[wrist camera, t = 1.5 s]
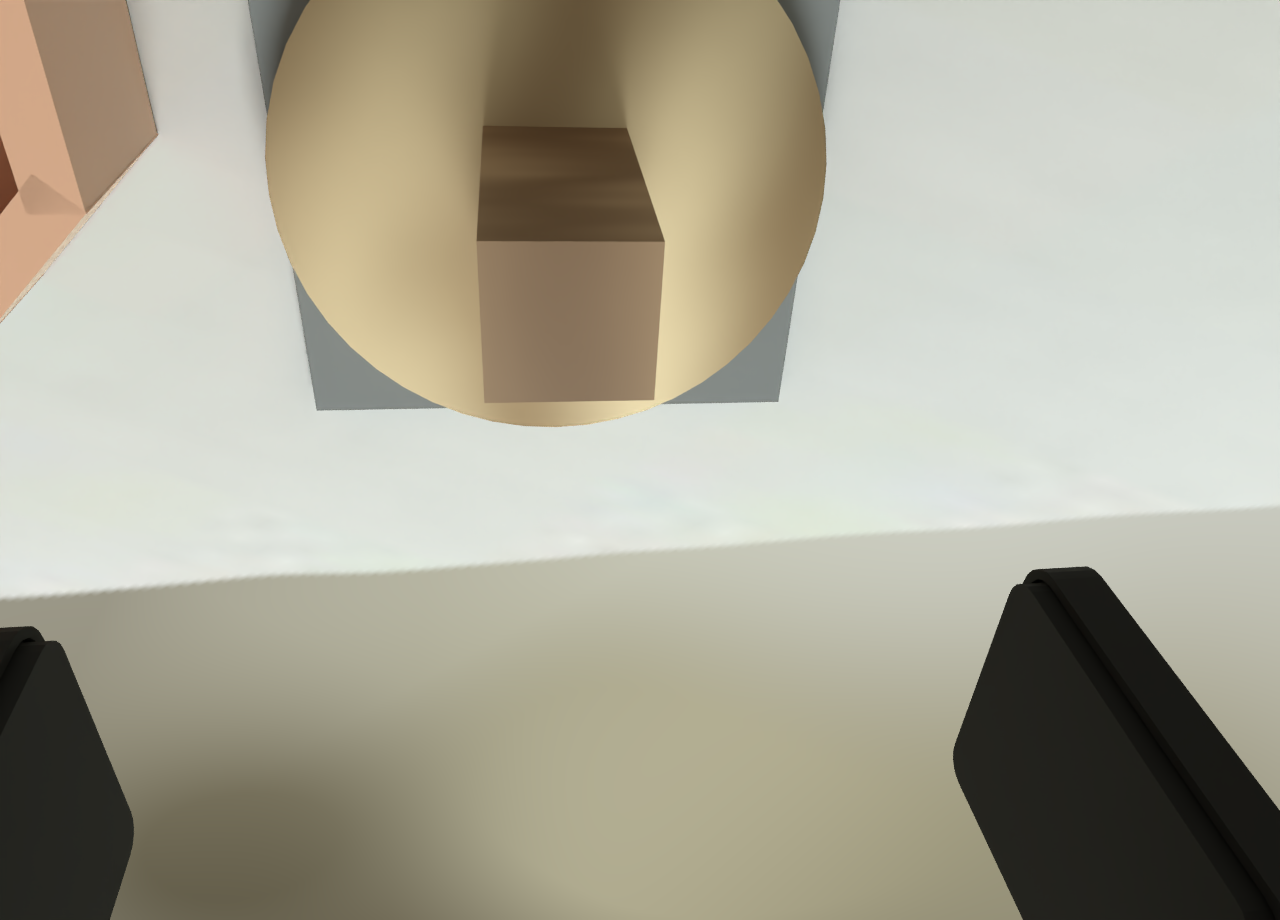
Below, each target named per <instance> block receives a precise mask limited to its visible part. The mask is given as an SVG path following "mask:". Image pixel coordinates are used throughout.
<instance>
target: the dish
mask: <svg viewBox="0 0 1280 920" xmlns="http://www.w3.org/2000/svg"><path fill="white" fill-rule="evenodd" d="M157 136H158V134H157V131H156V127H155V123H154V118H153V114H152V110H151V106H150V101H149V97H148V93H147V89H146V84H145V80H144V76H143V71H142V67H141V63H140V59H139V54H138V50H137V46H136V42H135V37H134V33H133V29H132V25H131V20H130V16H129V12H128V7H127V3H126V0H0V323H1V322H2V321H3V320H4V319H5V317H6V316H7V315H8V314H9V313H10V312H11V311H12V309H13V308H14V307H15V306H16V305H17V304H18V303H19V302H20V300H21V299H22V298H23V297H24V296H25V295H26V294H27V293H28V291H29V290H30V289H31V288H32V287H33V286H34V285H35V284H36V282H37V281H38V280H39V279H40V278H41V277H42V276H43V275H44V273H45V271H46V270H47V269H48V268H49V267H50V265H51V264H52V263H53V262H54V261H55V259H56V258H57V257H58V256H59V254H60V253H61V252H62V251H63V250H64V248H65V247H66V246H67V245H68V244H69V242H70V241H71V240H72V239H73V237H74V236H75V235H76V234H77V233H78V231H79V230H80V229H81V228H82V227H83V225H84V224H85V223H86V222H87V220H88V219H89V218H90V217H91V216H92V214H93V213H94V212H95V211H96V210H97V208H98V207H99V206H100V205H101V203H102V202H103V201H104V200H105V199H106V197H107V196H108V195H109V194H110V192H111V191H112V190H113V189H114V188H115V186H116V185H117V184H118V183H119V182H120V180H121V179H122V178H123V177H124V175H125V174H126V173H127V172H128V171H129V169H130V168H131V167H132V166H133V165H134V163H135V162H136V161H137V160H138V158H139V157H140V156H141V155H142V154H143V152H144V151H145V150H146V149H147V148H148V146H149V145H150V144H151V143H152V142H153V141H154V139H155V138H156V137H157Z"/></svg>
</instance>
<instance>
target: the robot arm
mask: <svg viewBox="0 0 1280 920" xmlns="http://www.w3.org/2000/svg"><path fill="white" fill-rule="evenodd" d="M953 762H954V769H955V773H956V777H957V779H958V782H959V784H960V786H961V789H962V791H963V793H964V795H965V797H966V799H967V801H968V803H969V805H970V808H971V810H972V812H973V814H974V816H975V818H976V820H977V823H978V825H979V827H980V829H981V831H982V833H983V835H984V837H985V840H986V842H987V844H988V846H989V848H990V850H991V852H992V854H993V857H994V859H995V861H996V863H997V865H998V867H999V869H1000V872H1001V874H1002V876H1003V878H1004V880H1005V882H1006V884H1007V887H1008V889H1009V891H1010V893H1011V895H1012V897H1013V899H1014V901H1015V904H1016V906H1017V907H1018V910H1019V912H1020V914H1021V916H1022V918H1023V920H1280V810H1279V809H1278V808H1277V806H1276V805H1275V804H1274V803H1273V801H1272V800H1271V799H1270V797H1269V796H1268V795H1267V793H1266V792H1265V791H1264V789H1263V788H1262V787H1261V785H1260V784H1259V783H1258V782H1257V780H1256V779H1255V778H1254V776H1253V775H1252V774H1251V772H1250V771H1249V770H1248V769H1247V767H1246V766H1245V765H1244V763H1243V762H1242V760H1241V759H1240V758H1239V757H1238V755H1237V754H1236V753H1235V751H1234V750H1233V749H1232V748H1231V746H1230V745H1229V743H1228V742H1227V741H1226V739H1225V738H1224V737H1223V736H1222V734H1221V733H1220V732H1219V730H1218V729H1217V728H1216V726H1215V725H1214V724H1213V722H1212V721H1211V720H1210V719H1209V717H1208V716H1207V715H1206V713H1205V712H1204V711H1203V709H1202V708H1201V707H1200V705H1199V704H1198V703H1197V701H1196V700H1195V699H1194V697H1193V696H1192V695H1191V694H1190V692H1189V691H1188V690H1187V688H1186V687H1185V686H1184V684H1183V683H1182V682H1181V680H1180V679H1179V678H1178V676H1177V675H1176V674H1175V673H1174V671H1173V670H1172V669H1171V667H1170V666H1169V665H1168V663H1167V662H1166V661H1165V660H1164V658H1163V657H1162V656H1161V654H1160V653H1159V652H1158V650H1157V649H1156V648H1155V646H1154V645H1153V644H1152V643H1151V641H1150V640H1149V638H1148V637H1147V636H1146V634H1145V633H1144V632H1143V631H1142V629H1141V628H1140V627H1139V625H1138V624H1137V623H1136V621H1135V620H1134V619H1133V618H1132V616H1131V615H1130V614H1129V612H1128V611H1127V610H1126V609H1125V607H1124V606H1123V604H1122V603H1121V602H1120V600H1119V599H1118V598H1117V597H1116V595H1115V594H1114V593H1113V591H1112V590H1111V589H1110V587H1109V586H1108V585H1107V583H1106V582H1105V581H1104V580H1103V578H1102V577H1101V576H1100V575H1099V574H1098V573H1097V572H1096V571H1095V570H1093V569H1091V568H1089V567H1071V568H1070V567H1069V568H1052V569H1037V570H1032V571H1031V572H1030V573H1029V574H1028V575H1027V576H1026V578H1025V580H1024V582H1023V584H1017V585H1016V586H1014V587H1013V588H1012V590H1011V592H1010V594H1009V597H1008V599H1007V602H1006V605H1005V608H1004V610H1003V613H1002V616H1001V619H1000V622H999V624H998V627H997V630H996V632H995V635H994V638H993V641H992V644H991V647H990V649H989V652H988V655H987V657H986V660H985V663H984V666H983V668H982V671H981V674H980V677H979V679H978V682H977V685H976V688H975V691H974V693H973V696H972V699H971V701H970V705H969V707H968V710H967V712H966V716H965V718H964V721H963V724H962V726H961V729H960V732H959V734H958V737H957V740H956V743H955V746H954V751H953ZM133 836H134V826H133V818H132V814H131V811H130V809H129V806H128V804H127V801H126V799H125V797H124V794H123V792H122V789H121V787H120V784H119V782H118V779H117V777H116V775H115V772H114V770H113V767H112V765H111V762H110V760H109V758H108V755H107V753H106V750H105V748H104V746H103V743H102V741H101V738H100V736H99V733H98V731H97V729H96V726H95V724H94V721H93V719H92V716H91V714H90V712H89V709H88V707H87V704H86V702H85V699H84V697H83V695H82V692H81V690H80V687H79V685H78V683H77V680H76V678H75V675H74V673H73V671H72V668H71V666H70V663H69V661H68V658H67V656H66V653H65V651H64V649H63V647H62V646H61V644H60V643H58V642H57V641H45V640H44V639H43V637H42V635H41V633H40V632H39V631H38V630H37V629H36V628H34V627H32V626H30V627H29V626H27V627H26V626H25V627H8V628H0V920H110V917H111V914H112V911H113V907H114V904H115V901H116V898H117V895H118V892H119V889H120V886H121V882H122V879H123V876H124V873H125V870H126V867H127V863H128V860H129V857H130V854H131V850H132V845H133Z"/></svg>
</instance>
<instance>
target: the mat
mask: <svg viewBox="0 0 1280 920" xmlns="http://www.w3.org/2000/svg"><path fill="white" fill-rule="evenodd" d="M309 1H310V0H248V4H249V10H250V16H251V21H252V27H253V33H254V39H255V45H256V51H257V57H258V63H259V69H260V75H261V81H262V87H263V93H264V99H265V105H266V111H267V115H268V109H269V104H270V98H271V93H272V87H273V82H274V79H275V76H276V73H277V70H278V67H279V64H280V61H281V58H282V55H283V52H284V49H285V46H286V43H287V41H288V39H289V37H290V35H291V34H292V32H293V30H294V28H295V26H296V24H297V22H298V20H299V18H300V16H301V14H302V12H303V10H304V8H305V7H306V5H307V4H308V3H309ZM777 1H778V2H779V4H780V5H781V7H782V8H783V10H784V11H785V13H786V14H787V16H788V18H789V19H790V21H791V22H792V24H793V26H794V28H795V30H796V32H797V35H798V37H799V39H800V41H801V43H802V45H803V47H804V50H805V52H806V54H807V56H808V58H809V62H810V65H811V68H812V71H813V75H814V78H815V81H816V84H817V88H818V91H819V95H820V101H821V107H822V113H823V108H824V101H825V95H826V88H827V82H828V75H829V69H830V62H831V56H832V50H833V43H834V37H835V30H836V24H837V17H838V11H839V4H840V0H777ZM293 272H294V278H295V283H296V289H297V295H298V301H299V307H300V313H301V319H302V325H303V331H304V337H305V343H306V349H307V355H308V361H309V367H310V373H311V379H312V385H313V391H314V397H315V403H316V409H317V410H366V409H419V408H447V407H444V406H441V405H439V404H436V403H434V402H431V401H429V400H427V399H425V398H424V397H422V396H420V395H418V394H416V393H414V392H412V391H410V390H408V389H406V388H404V387H403V386H401V385H400V384H398V383H397V382H395V381H394V380H392V379H391V378H389V377H388V376H386V375H385V374H383V373H382V372H380V371H379V370H377V369H376V368H375V367H373V366H372V365H371V364H370V363H369V362H368V361H366V360H365V359H364V358H363V357H362V356H361V355H359V354H358V353H357V352H356V351H355V350H353V349H352V348H351V347H350V346H349V345H348V344H347V343H346V341H345V340H344V339H343V338H342V337H341V336H340V335H339V334H338V333H337V332H336V331H335V330H334V328H333V327H332V326H331V325H330V324H329V323H328V322H327V321H326V319H325V318H324V316H323V315H322V314H321V312H320V311H319V309H318V308H317V307H316V305H315V304H314V302H313V301H312V300H311V298H310V297H309V296H308V294H307V292H306V290H305V289H304V287H303V285H302V283H301V281H300V279H299V278H298V276H297V274H296V272H295V270H294V268H293ZM796 283H797V278H796V280H795V282H794V284H793V286H792V288H791V290H790V291H789V293H788V295H787V296H786V298H785V299H784V301H783V302H782V304H781V305H780V306H779V308H778V309H777V311H776V312H775V314H774V315H773V317H772V318H771V320H770V321H769V322H768V323H767V324H766V325H765V327H764V328H763V329H762V330H761V331H760V332H759V334H758V335H757V336H756V337H755V338H754V339H753V340H752V342H751V343H750V344H749V345H748V346H746V347H745V348H744V349H743V350H742V351H741V352H740V353H739V354H738V355H737V356H736V357H735V358H733V359H732V360H731V361H730V362H729V363H728V364H727V365H725V366H724V367H723V368H721V369H720V370H719V371H717V372H716V373H714V374H713V375H712V376H710V377H709V378H708V379H706V380H705V381H703V382H702V383H700V384H698V385H697V386H695V387H693V388H691V389H690V390H688V391H686V392H684V393H683V394H681V395H679V396H677V397H676V398H673V399H671V400H669V401H666V402H664V403H662V404H684V403H737V402H778V399H779V393H780V386H781V380H782V373H783V367H784V360H785V354H786V347H787V341H788V334H789V328H790V322H791V315H792V309H793V302H794V296H795V289H796Z"/></svg>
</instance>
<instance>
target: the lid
mask: <svg viewBox="0 0 1280 920" xmlns="http://www.w3.org/2000/svg"><path fill="white" fill-rule="evenodd" d="M265 160H266V169H267V179H268V189H269V196H270V200H271V204H272V208H273V213H274V217H275V221H276V225H277V229H278V232H279V234H280V237H281V240H282V242H283V245H284V247H285V250H286V252H287V255H288V258H289V260H290V263H291V265H292V267H293V268H294V270H295V272H296V274H297V276H298V278H299V279H300V281H301V283H302V285H303V287H304V289H305V290H306V292H307V294H308V296H309V297H310V298H311V300H312V301H313V302H314V304H315V305H316V307H317V308H318V309H319V311H320V312H321V314H322V315H323V316H324V318H325V319H326V321H327V322H328V323H329V324H330V325H331V326H332V327H333V328H334V330H335V331H336V332H337V333H338V334H339V335H340V336H341V337H342V338H343V339H344V340H345V341H346V343H347V344H348V345H349V346H350V347H351V348H352V349H353V350H355V351H356V352H357V353H358V354H359V355H361V356H362V357H363V358H364V359H365V360H366V361H368V362H369V363H370V364H371V365H372V366H373V367H375V368H376V369H377V370H379V371H380V372H382V373H383V374H385V375H386V376H388V377H389V378H391V379H392V380H394V381H395V382H397V383H398V384H400V385H401V386H403V387H404V388H406V389H408V390H410V391H412V392H414V393H416V394H418V395H420V396H422V397H424V398H425V399H427V400H429V401H431V402H434V403H436V404H439V405H441V406H444V407H447V408H449V409H452V410H455V411H457V412H460V413H462V414H466V415H470V416H474V417H478V418H482V419H486V420H490V421H494V422H501V423H508V424H514V425H521V426H542V427H562V426H575V425H587V424H593V423H598V422H603V421H609V420H614V419H618V418H622V417H625V416H628V415H632V414H635V413H638V412H642V411H645V410H648V409H650V408H652V407H655V406H657V405H659V404H662V403H664V402H666V401H669V400H671V399H673V398H676V397H677V396H679V395H681V394H683V393H684V392H686V391H688V390H690V389H691V388H693V387H695V386H697V385H698V384H700V383H702V382H703V381H705V380H706V379H708V378H709V377H710V376H712V375H713V374H714V373H716V372H717V371H719V370H720V369H721V368H723V367H724V366H725V365H727V364H728V363H729V362H730V361H731V360H732V359H733V358H735V357H736V356H737V355H738V354H739V353H740V352H741V351H742V350H743V349H744V348H745V347H746V346H748V345H749V344H750V343H751V342H752V340H753V339H754V338H755V337H756V336H757V335H758V334H759V332H760V331H761V330H762V329H763V328H764V327H765V325H766V324H767V323H768V322H769V321H770V320H771V318H772V317H773V315H774V314H775V312H776V311H777V309H778V308H779V306H780V305H781V304H782V302H783V301H784V299H785V298H786V296H787V295H788V293H789V291H790V290H791V288H792V286H793V284H794V282H795V280H796V278H797V276H798V274H799V272H800V270H801V268H802V266H803V264H804V262H805V259H806V256H807V254H808V251H809V248H810V245H811V243H812V240H813V237H814V234H815V232H816V227H817V223H818V218H819V214H820V210H821V205H822V201H823V194H824V183H825V173H826V138H825V125H824V119H823V113H822V107H821V101H820V95H819V91H818V88H817V84H816V81H815V78H814V75H813V71H812V68H811V65H810V62H809V58H808V56H807V54H806V52H805V50H804V47H803V45H802V43H801V41H800V39H799V37H798V35H797V32H796V30H795V28H794V26H793V24H792V22H791V21H790V19H789V18H788V16H787V14H786V13H785V11H784V10H783V8H782V7H781V5H780V4H779V2H778V1H777V0H310V1H309V3H308V4H307V5H306V7H305V8H304V10H303V12H302V14H301V16H300V18H299V20H298V22H297V24H296V26H295V28H294V30H293V32H292V34H291V35H290V37H289V39H288V41H287V43H286V46H285V49H284V52H283V55H282V58H281V61H280V64H279V67H278V70H277V73H276V76H275V79H274V82H273V87H272V93H271V98H270V104H269V109H268V115H267V123H266V151H265Z"/></svg>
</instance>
